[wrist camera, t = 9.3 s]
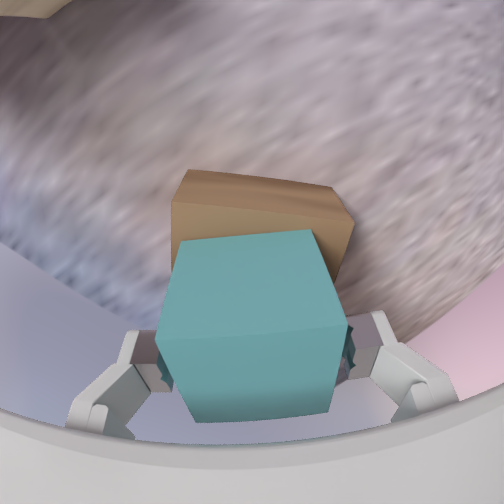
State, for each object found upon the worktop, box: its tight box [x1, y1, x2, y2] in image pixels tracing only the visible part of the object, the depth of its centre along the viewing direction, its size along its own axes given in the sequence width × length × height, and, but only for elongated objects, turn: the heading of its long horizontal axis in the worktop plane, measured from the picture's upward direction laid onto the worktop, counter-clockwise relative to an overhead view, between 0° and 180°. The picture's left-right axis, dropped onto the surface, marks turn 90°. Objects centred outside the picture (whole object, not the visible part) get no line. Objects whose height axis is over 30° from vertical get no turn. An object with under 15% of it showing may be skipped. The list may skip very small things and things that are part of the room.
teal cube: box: [155, 229, 348, 423], centre depth 11 cm, size 5×5×5 cm
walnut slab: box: [171, 169, 355, 285], centre depth 15 cm, size 7×7×4 cm
